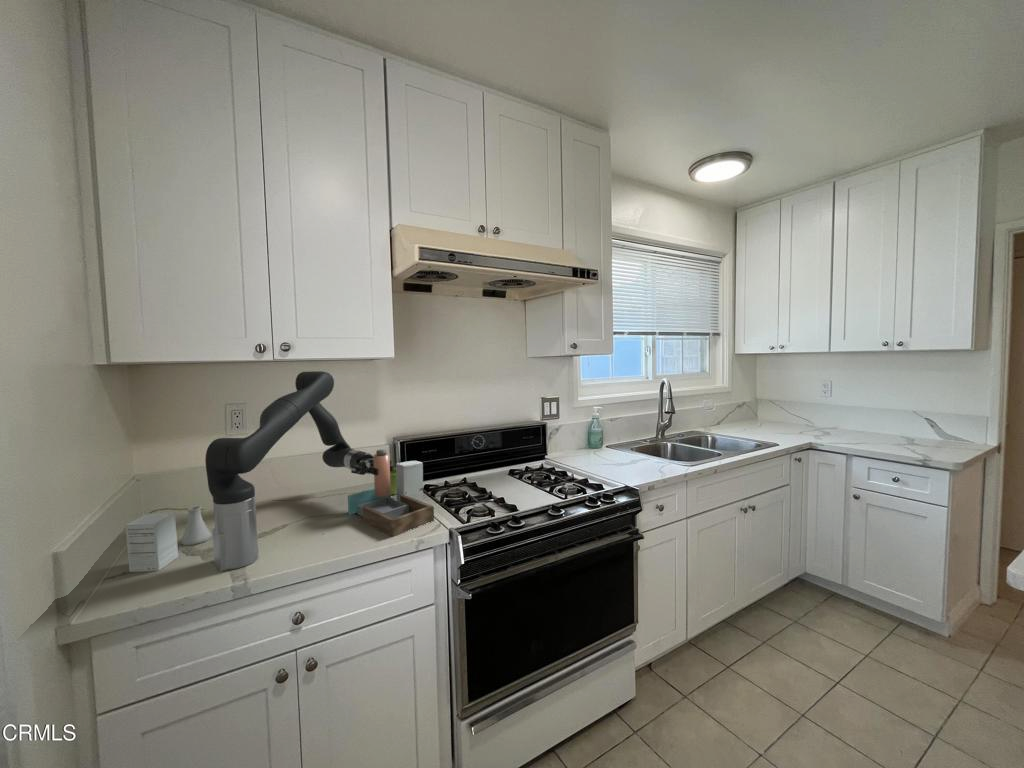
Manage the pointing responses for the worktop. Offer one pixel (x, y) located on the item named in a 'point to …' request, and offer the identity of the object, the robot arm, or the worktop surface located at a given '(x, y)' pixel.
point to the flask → (195, 528)
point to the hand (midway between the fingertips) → (384, 470)
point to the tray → (376, 504)
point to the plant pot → (393, 481)
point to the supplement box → (151, 542)
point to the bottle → (382, 473)
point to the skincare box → (409, 480)
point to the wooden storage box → (395, 526)
